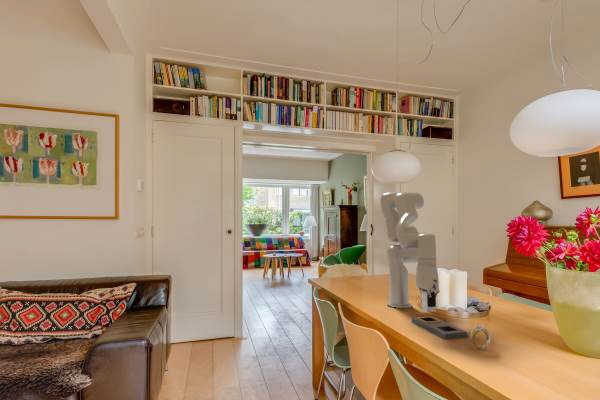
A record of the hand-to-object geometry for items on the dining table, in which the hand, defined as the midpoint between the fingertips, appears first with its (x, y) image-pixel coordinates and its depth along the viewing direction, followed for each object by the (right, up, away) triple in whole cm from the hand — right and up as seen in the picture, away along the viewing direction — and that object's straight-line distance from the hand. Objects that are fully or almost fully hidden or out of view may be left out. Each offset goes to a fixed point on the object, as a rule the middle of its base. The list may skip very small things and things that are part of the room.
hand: (428, 305), depth 143 cm
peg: (0, -2, 0) cm, 2 cm away
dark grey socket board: (+1, -8, -6) cm, 10 cm away
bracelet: (+8, -7, -27) cm, 29 cm away
